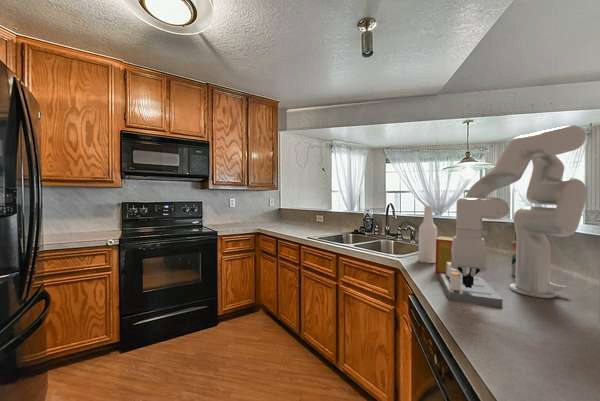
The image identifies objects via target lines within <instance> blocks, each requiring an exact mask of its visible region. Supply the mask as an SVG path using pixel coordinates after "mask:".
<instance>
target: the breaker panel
mask: <svg viewBox="0 0 600 401" xmlns="http://www.w3.org/2000/svg"><path fill="white" fill-rule="evenodd" d="M438 274H439V282H440V284H441V286H442V288H443V290H444V292H445V294H446V296H447V298H448V301H451V302H453V301H454V302H460V303H461V302H462V303H468V304H474V305H476V304H477V305H483V306H491V307H498V308H503V302H504V301H503V298H502V297H501V296H500V295H499V294H498V293H497V292H496V291H495V290H494V288H492V287H491V285H489V284H488V283H487V282H486V281H485V280H484V279H483V278H482V277H481V276H474V280H473V285H472V288H469V287H468V288H466V287H465V285H464V284H463V283H462V277H463V274H462V275H461V274H460V275H461V289H460V291H457V290H452V289H451V287H450V277H448V276H447V274H443V273H438Z"/></svg>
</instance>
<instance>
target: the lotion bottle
mask: <svg viewBox="0 0 600 401" xmlns="http://www.w3.org/2000/svg"><path fill="white" fill-rule="evenodd" d="M514 234H515V235H514V240H513V241H512V243H511V275H512V276H514V277H515V275H516V231H515V233H514Z"/></svg>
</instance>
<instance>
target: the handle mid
mask: <svg viewBox="0 0 600 401" xmlns="http://www.w3.org/2000/svg"><path fill="white" fill-rule="evenodd" d="M450 272H459V274H460V273H461V272H460V271H459V270H456V269H453V268H451V267H450ZM460 275H461V274H460Z"/></svg>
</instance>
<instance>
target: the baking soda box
mask: <svg viewBox="0 0 600 401" xmlns="http://www.w3.org/2000/svg"><path fill="white" fill-rule="evenodd" d="M452 240H453V236H451V237H450V236H437V239H436V263H435V273H436V274H440V273H443V274H446V265H447V262H451V246H452Z"/></svg>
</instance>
